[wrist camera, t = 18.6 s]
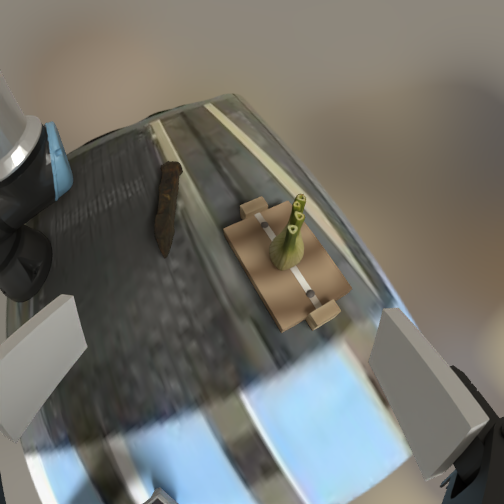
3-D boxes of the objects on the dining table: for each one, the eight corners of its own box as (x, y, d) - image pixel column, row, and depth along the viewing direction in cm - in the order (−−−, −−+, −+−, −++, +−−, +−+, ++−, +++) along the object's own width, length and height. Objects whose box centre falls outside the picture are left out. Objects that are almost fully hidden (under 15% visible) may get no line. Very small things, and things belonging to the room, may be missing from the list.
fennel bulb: (284, 281, 39) (297, 237, 29) (258, 260, 41) (262, 210, 30) (309, 255, 41) (328, 206, 31) (284, 235, 43) (295, 183, 32)
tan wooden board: (219, 226, 46) (217, 215, 43) (280, 199, 49) (282, 187, 46) (288, 344, 37) (291, 340, 34) (355, 303, 40) (362, 296, 37)
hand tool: (164, 175, 52) (159, 158, 48) (183, 173, 52) (179, 156, 48) (150, 260, 43) (141, 246, 39) (173, 259, 43) (166, 245, 39)
